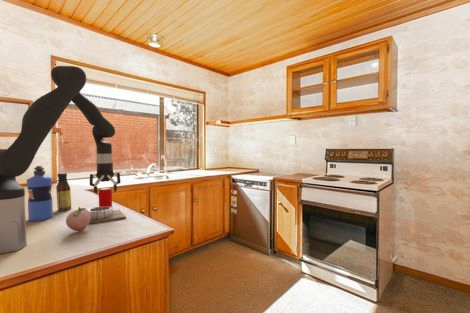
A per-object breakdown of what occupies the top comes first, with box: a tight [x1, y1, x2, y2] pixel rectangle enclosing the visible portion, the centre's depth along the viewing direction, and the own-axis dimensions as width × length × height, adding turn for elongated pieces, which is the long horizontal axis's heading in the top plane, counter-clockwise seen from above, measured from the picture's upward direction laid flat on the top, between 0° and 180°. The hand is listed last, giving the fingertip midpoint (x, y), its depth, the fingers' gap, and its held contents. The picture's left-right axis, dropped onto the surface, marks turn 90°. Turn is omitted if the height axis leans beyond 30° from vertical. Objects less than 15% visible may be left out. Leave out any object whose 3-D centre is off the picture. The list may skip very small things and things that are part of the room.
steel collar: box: [86, 206, 113, 220], centre depth 114 cm, size 10×10×4 cm
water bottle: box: [26, 165, 54, 222], centre depth 113 cm, size 9×9×25 cm
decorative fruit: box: [65, 206, 91, 232], centre depth 96 cm, size 9×8×10 cm
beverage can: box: [98, 187, 113, 208], centre depth 127 cm, size 6×6×12 cm
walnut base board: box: [88, 208, 127, 226], centre depth 114 cm, size 16×20×1 cm
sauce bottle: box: [55, 172, 72, 212], centre depth 129 cm, size 7×6×20 cm
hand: (105, 192), depth 127 cm, fingers open, 8 cm apart
